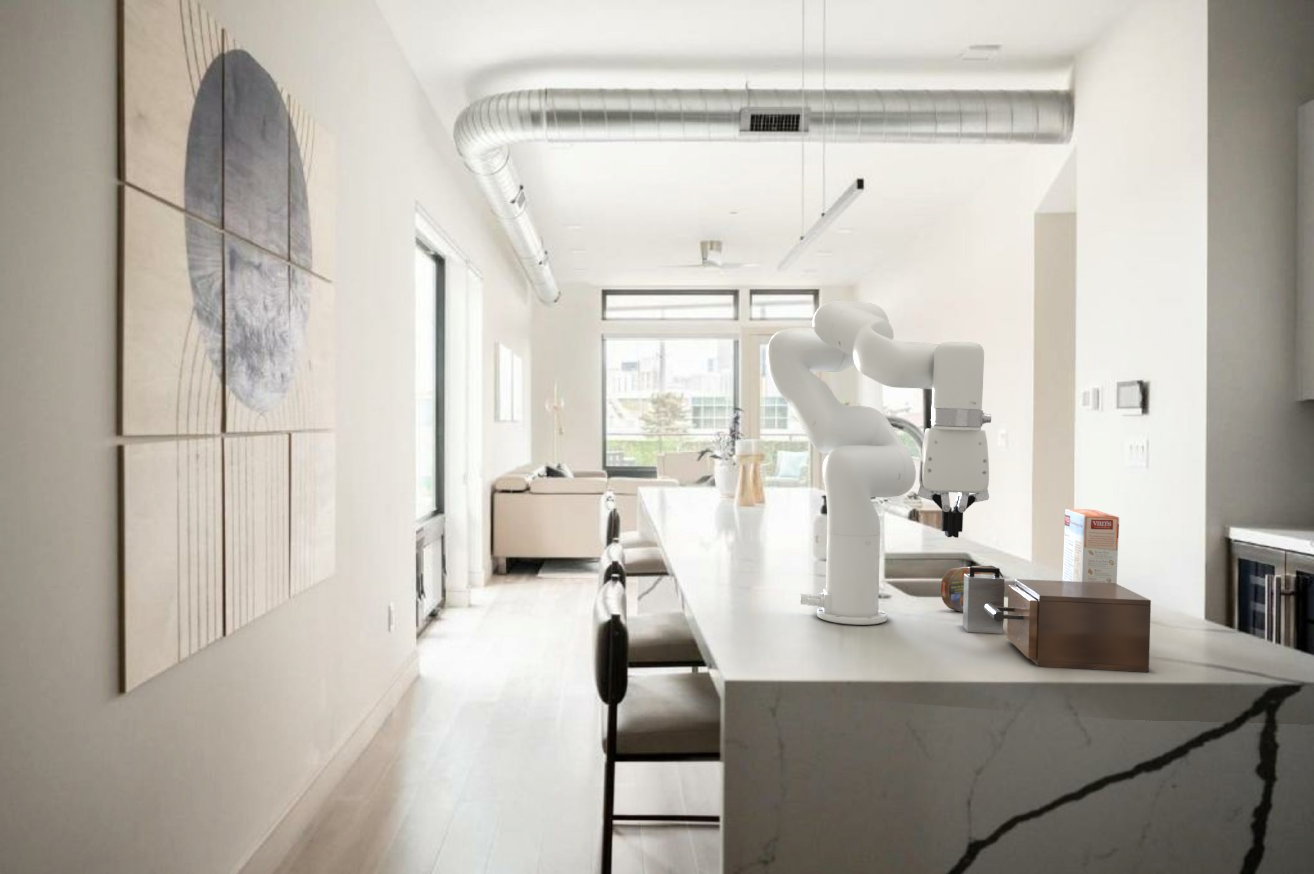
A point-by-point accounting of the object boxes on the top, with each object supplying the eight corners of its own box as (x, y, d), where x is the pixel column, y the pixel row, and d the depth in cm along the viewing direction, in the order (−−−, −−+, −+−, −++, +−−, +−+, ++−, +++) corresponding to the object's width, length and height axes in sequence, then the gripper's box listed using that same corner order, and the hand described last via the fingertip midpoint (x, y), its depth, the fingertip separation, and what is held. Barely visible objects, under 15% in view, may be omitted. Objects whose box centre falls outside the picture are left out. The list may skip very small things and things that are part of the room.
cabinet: (1037, 666, 137) (1039, 595, 136) (1013, 643, 151) (1015, 579, 151) (1149, 672, 135) (1151, 600, 134) (1113, 648, 149) (1115, 583, 149)
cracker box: (1117, 639, 155) (1121, 516, 155) (1079, 637, 156) (1082, 514, 156) (1095, 622, 169) (1098, 508, 168) (1060, 620, 170) (1063, 507, 170)
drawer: (997, 657, 138) (999, 599, 138) (979, 636, 151) (980, 583, 151) (1131, 664, 135) (1132, 604, 135) (1100, 642, 149) (1101, 588, 149)
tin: (949, 613, 174) (950, 569, 174) (937, 610, 177) (938, 566, 177) (1005, 607, 181) (1006, 565, 181) (993, 604, 184) (994, 562, 183)
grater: (967, 632, 159) (968, 568, 158) (962, 627, 163) (964, 565, 162) (1003, 633, 158) (1004, 570, 158) (997, 628, 162) (999, 566, 161)
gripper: (1000, 421, 148) (995, 535, 148) (904, 418, 150) (900, 530, 150) (1011, 422, 140) (1006, 542, 141) (910, 419, 142) (906, 537, 143)
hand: (951, 536), depth 146 cm, fingers closed
